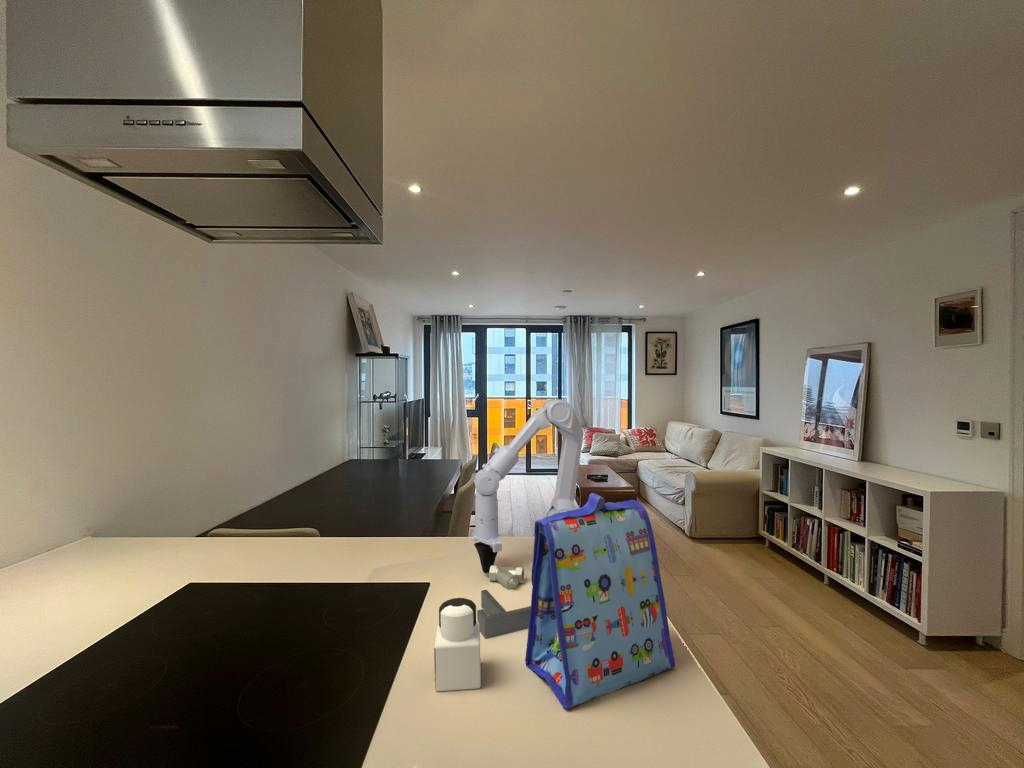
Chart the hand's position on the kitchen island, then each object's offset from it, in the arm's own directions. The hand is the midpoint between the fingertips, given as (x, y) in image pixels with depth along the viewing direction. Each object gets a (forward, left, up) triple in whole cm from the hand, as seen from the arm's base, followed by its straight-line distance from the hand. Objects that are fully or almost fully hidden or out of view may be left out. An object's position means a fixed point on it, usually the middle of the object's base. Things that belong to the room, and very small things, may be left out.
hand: (487, 571), depth 116 cm
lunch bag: (-3, +44, -1) cm, 44 cm away
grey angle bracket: (0, +21, -1) cm, 21 cm away
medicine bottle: (+19, +36, -1) cm, 41 cm away
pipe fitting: (-2, +6, -1) cm, 7 cm away
